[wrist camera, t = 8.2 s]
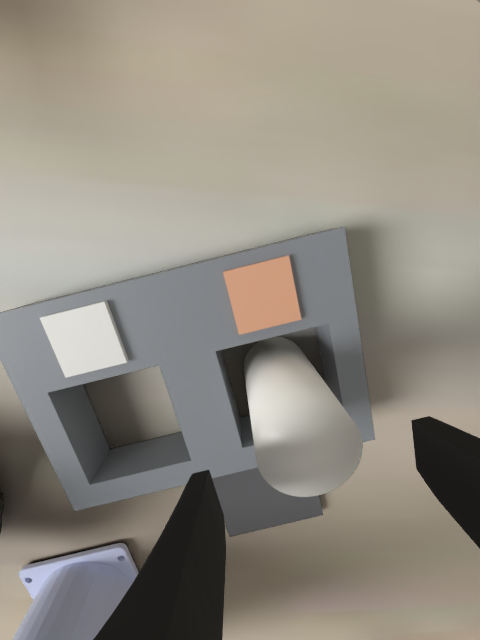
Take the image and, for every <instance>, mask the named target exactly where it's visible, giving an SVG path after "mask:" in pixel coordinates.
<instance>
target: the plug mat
mask: <svg viewBox="0 0 480 640" xmlns="http://www.w3.org/2000/svg"><path fill="white" fill-rule="evenodd" d="M212 480H213V483H214V486H215V489H216V492H217V495H218V498H219V501H220V505H221V508H222V511H223V514H224V521H225V524H226V527H227V530H228V533H229V536H230V537H231V536H236V535H240V534H244V533H248V532H253V531H257V530H261V529H265V528H270V527H274V526H278V525H282V524H286V523H291V522H295V521H299V520H303V519H308V518H312V517H316V516H320V515H323V512H322V507H321V502H320V498H319V495H318V496H312V497H297V496H291V495H287V494H284V493H282V492H280V491H278V490H276V489H274V488H273V487H272V486H270V485H269V484H268V483H267V482H266V481H265V479H264V478H263V477H262V475H261V473H260V471H259V469H258V467H257V468H253V469H249V470H245V471H241V472H236V473H232V474H228V475H224V476H220V477H216V478H212Z"/></svg>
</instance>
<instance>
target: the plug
mask: <svg viewBox="0 0 480 640" xmlns="http://www.w3.org/2000/svg"><path fill="white" fill-rule="evenodd" d="M244 376H245V383H246V391H247V398H248V405H249V412H250V419H251V426H252V433H253V440H254V447H255V454H256V461H257V466H258V469H259V471H260V473H261V475H262V477H263V478H264V479H265V481H266V482H267V483H268V484H269V485H270V486H272V487H273V488H274V489H276V490H278V491H280V492H282V493H284V494H287V495H291V496H297V497H312V496H318V495H321V494H325V493H327V492H330V491H332V490H334V489H336V488H337V487H339V486H340V485H342V484H343V483H344V482H345V481H347V480H348V479H349V478H350V476H351V475H352V474H353V473H354V471H355V470H356V468H357V466H358V464H359V462H360V459H361V455H362V448H363V445H362V438H361V434H360V431H359V429H358V427H357V426H356V424H355V423H354V421H353V420H352V419H351V417H350V416H349V414H348V413H347V412H346V410H345V409H344V408H343V406H342V405H341V404H340V402H339V401H338V399H337V398H336V397H335V395H334V394H333V393H332V391H331V390H330V389H329V387H328V386H327V384H326V383H325V382H324V380H323V379H322V378H321V376H320V375H319V374H318V372H317V371H316V369H315V368H314V367H313V365H312V364H311V363H310V361H309V360H308V359H307V357H306V356H305V355H304V353H303V352H302V350H301V349H300V348H299V347H298V346H297V345H296V344H295V343H294V342H292V341H291V340H289V339H286V338H282V337H272V338H268V339H264V340H261V341H259V342H258V343H256V344H255V345H254V346H253V347H252V348H251V349H250V350H249V351H248V353H247V355H246V357H245V360H244Z"/></svg>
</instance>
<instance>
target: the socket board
mask: <svg viewBox="0 0 480 640" xmlns="http://www.w3.org/2000/svg"><path fill="white" fill-rule="evenodd" d="M313 327H315V330H316V336H317V341H318V347H319V352H320V357H321V363H322V368H323V374H324V379H325V383H326V384H327V386H328V387H329V389H330V390H331V391H332V393H333V394H334V395H335V397H336V398H337V399H338V401H339V402H340V404H341V405H342V406H343V408H344V409H345V410H346V412H347V413H348V414H349V416H350V417H351V419H352V420H353V421H354V423H355V424H356V426H357V427H358V429H359V431H360V434H361V438H362V442H366V441H370V440H374V439H375V435H374V428H373V421H372V414H371V407H370V400H369V393H368V386H367V379H366V372H365V365H364V358H363V351H362V345H361V338H360V331H359V324H358V317H357V310H356V303H355V296H354V289H353V282H352V275H351V268H350V261H349V254H348V247H347V240H346V233H345V227H341V228H335V229H330V230H324V231H320V232H316V233H312V234H308V235H304V236H300V237H296V238H292V239H288V240H284V241H280V242H276V243H272V244H268V245H264V246H260V247H256V248H252V249H248V250H244V251H240V252H236V253H232V254H228V255H224V256H220V257H216V258H212V259H208V260H204V261H200V262H196V263H192V264H188V265H184V266H180V267H176V268H172V269H168V270H164V271H160V272H157V273H153V274H149V275H145V276H141V277H137V278H133V279H129V280H125V281H121V282H117V283H113V284H109V285H105V286H101V287H97V288H93V289H89V290H85V291H81V292H77V293H73V294H69V295H65V296H61V297H57V298H53V299H49V300H45V301H41V302H37V303H33V304H29V305H25V306H21V307H18V308H14V309H11V310H7V311H4V312H0V360H1V362H2V364H3V366H4V368H5V370H6V372H7V374H8V376H9V378H10V381H11V383H12V385H13V387H14V389H15V391H16V393H17V395H18V397H19V399H20V401H21V403H22V405H23V407H24V409H25V411H26V413H27V415H28V417H29V419H30V422H31V424H32V426H33V428H34V430H35V432H36V434H37V436H38V438H39V440H40V442H41V444H42V446H43V448H44V450H45V452H46V454H47V456H48V458H49V460H50V463H51V465H52V467H53V469H54V471H55V473H56V475H57V477H58V479H59V481H60V483H61V485H62V487H63V489H64V491H65V493H66V495H67V497H68V499H69V501H70V504H71V506H72V508H73V510H74V511H78V510H82V509H86V508H91V507H95V506H99V505H103V504H107V503H111V502H116V501H120V500H124V499H128V498H132V497H136V496H141V495H145V494H149V493H153V492H157V491H161V490H166V489H170V488H174V487H178V486H182V485H186V484H187V482H188V480H189V478H190V476H191V475H192V474H193V473H197V472H201V471H205V470H209V471H210V474H211V477H212V478H216V477H220V476H224V475H228V474H232V473H236V472H241V471H245V470H249V469H253V468H257V467H258V466H257V461H256V454H255V447H254V440H253V433H252V426H251V419H250V416H245V417H241V418H240V415H239V412H238V408H237V405H236V401H235V397H234V394H233V390H232V386H231V383H230V379H229V376H228V372H227V368H226V365H225V361H224V357H223V354H222V350H223V349H227V348H231V347H235V346H240V345H244V344H248V343H252V342H256V341H260V340H264V339H268V338H272V337H276V336H280V335H284V334H288V333H292V332H296V331H300V330H305V329H309V328H313ZM158 365H159V366H160V369H161V372H162V375H163V378H164V381H165V384H166V387H167V390H168V393H169V396H170V399H171V402H172V405H173V408H174V411H175V414H176V417H177V420H178V422H179V425H180V428H181V431H182V432H179V433H175V434H171V435H167V436H163V437H159V438H155V439H151V440H146V441H142V442H138V443H134V444H130V445H126V446H122V447H118V448H114V449H110V448H109V445H108V443H107V440H106V438H105V436H104V433H103V431H102V428H101V426H100V424H99V421H98V419H97V416H96V414H95V412H94V409H93V407H92V405H91V402H90V400H89V397H88V395H87V393H86V390H85V388H84V385H83V384H85V383H89V382H93V381H97V380H101V379H106V378H110V377H114V376H118V375H122V374H126V373H130V372H134V371H138V370H142V369H146V368H150V367H154V366H158Z"/></svg>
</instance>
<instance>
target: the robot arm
mask: <svg viewBox="0 0 480 640" xmlns="http://www.w3.org/2000/svg"><path fill="white" fill-rule="evenodd" d="M412 430H413V439H414V449H415V458H416V468H417V470H418V472H419V473H420V475H421V476H422V478H423V479H424V481H425V482H426V484H427V485H428V487H429V488H430V489H431V491H432V492H433V494H434V495H435V496H436V498H437V499H438V500H439V502H440V503H441V504H442V505H443V506H444V507H445V509H446V510H447V511H448V512H449V513H450V514H451V516H452V517H453V518H454V519H455V520H456V522H457V523H458V524H459V525H460V526H461V527H462V528H463V530H464V531H465V532H466V533H467V534H468V535H469V537H470V538H471V539H472V540H473V541H474V542H475V543H476V545H477V546H478V547H479V548H480V438H477V437H475V436H473V435H471V434H469V433H466V432H464V431H462V430H460V429H457V428H455V427H453V426H451V425H448V424H446V423H444V422H442V421H439V420H437V419H434V418H432V417H429V416H428V417H424V418H420V419H416V420H412ZM225 560H226V542H225V524H224V514H223V511H222V508H221V505H220V501H219V498H218V495H217V492H216V489H215V486H214V483H213V480H212V477H211V474H210V471H209V470H205V471H201V472H197V473H193V474H192V475H191V476H190V478H189V480H188V482H187V484H186V487H185V489H184V491H183V493H182V495H181V497H180V499H179V501H178V503H177V505H176V507H175V509H174V511H173V513H172V515H171V517H170V519H169V521H168V523H167V524H166V526H165V528H164V530H163V532H162V534H161V536H160V538H159V539H158V541H157V543H156V545H155V546H154V548H153V550H152V552H151V553H150V555H149V557H148V558H147V560H146V562H145V564H144V565H143V567H142V569H141V570H140V572H138V570H137V568H136V566H135V563H134V561H133V559H132V557H131V554H130V552H129V550H128V548H127V546H126V545H125V544H124V543H117V544H113V545H109V546H104V547H100V548H96V549H92V550H88V551H83V552H79V553H75V554H71V555H67V556H62V557H58V558H54V559H50V560H45V561H41V562H37V563H33V564H29V565H25V566H23V567H22V569H21V570H20V572H19V576H20V578H21V580H22V581H23V583H24V585H25V587H26V588H27V590H28V592H29V593H30V595H31V597H32V598H33V602H32V604H31V606H30V608H29V609H28V611H27V613H26V615H25V617H24V619H23V620H22V622H21V624H20V626H19V628H18V630H17V631H16V633H15V635H14V637H13V639H12V640H222V631H223V608H224V585H225Z"/></svg>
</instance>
